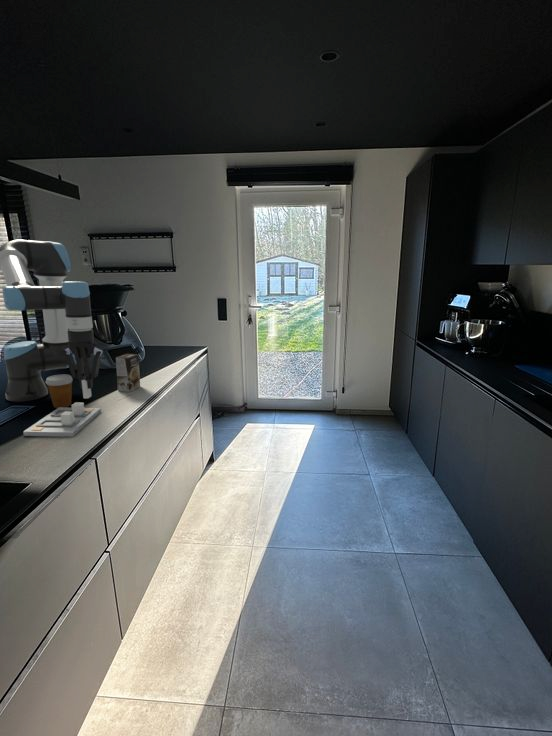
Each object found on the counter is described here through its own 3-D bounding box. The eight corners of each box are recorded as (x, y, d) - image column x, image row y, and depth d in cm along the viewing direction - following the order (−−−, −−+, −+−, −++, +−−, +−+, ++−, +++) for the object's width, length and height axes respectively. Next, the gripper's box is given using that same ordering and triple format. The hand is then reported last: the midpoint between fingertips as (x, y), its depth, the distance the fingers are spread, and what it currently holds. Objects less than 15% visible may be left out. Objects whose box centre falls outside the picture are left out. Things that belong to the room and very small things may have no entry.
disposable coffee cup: (56, 411, 140) (52, 382, 137) (44, 406, 144) (40, 377, 141) (80, 404, 148) (77, 376, 144) (67, 399, 152) (64, 372, 149)
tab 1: (61, 425, 124) (60, 414, 123) (66, 421, 127) (65, 411, 126) (70, 425, 124) (69, 414, 123) (75, 422, 127) (73, 411, 126)
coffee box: (129, 392, 164) (127, 358, 160) (117, 390, 165) (114, 357, 161) (141, 386, 173) (139, 354, 169) (129, 385, 174) (126, 353, 170)
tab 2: (72, 415, 133) (71, 405, 132) (76, 412, 136) (75, 402, 134) (80, 415, 133) (79, 405, 132) (84, 412, 136) (83, 402, 135)
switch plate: (23, 435, 119) (22, 430, 119) (59, 410, 140) (58, 406, 140) (72, 436, 120) (72, 431, 119) (100, 411, 141) (100, 406, 141)
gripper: (53, 330, 113) (62, 400, 119) (95, 331, 114) (102, 401, 120) (66, 327, 120) (73, 393, 126) (105, 328, 121) (111, 393, 127)
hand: (87, 397), depth 123 cm, fingers closed
